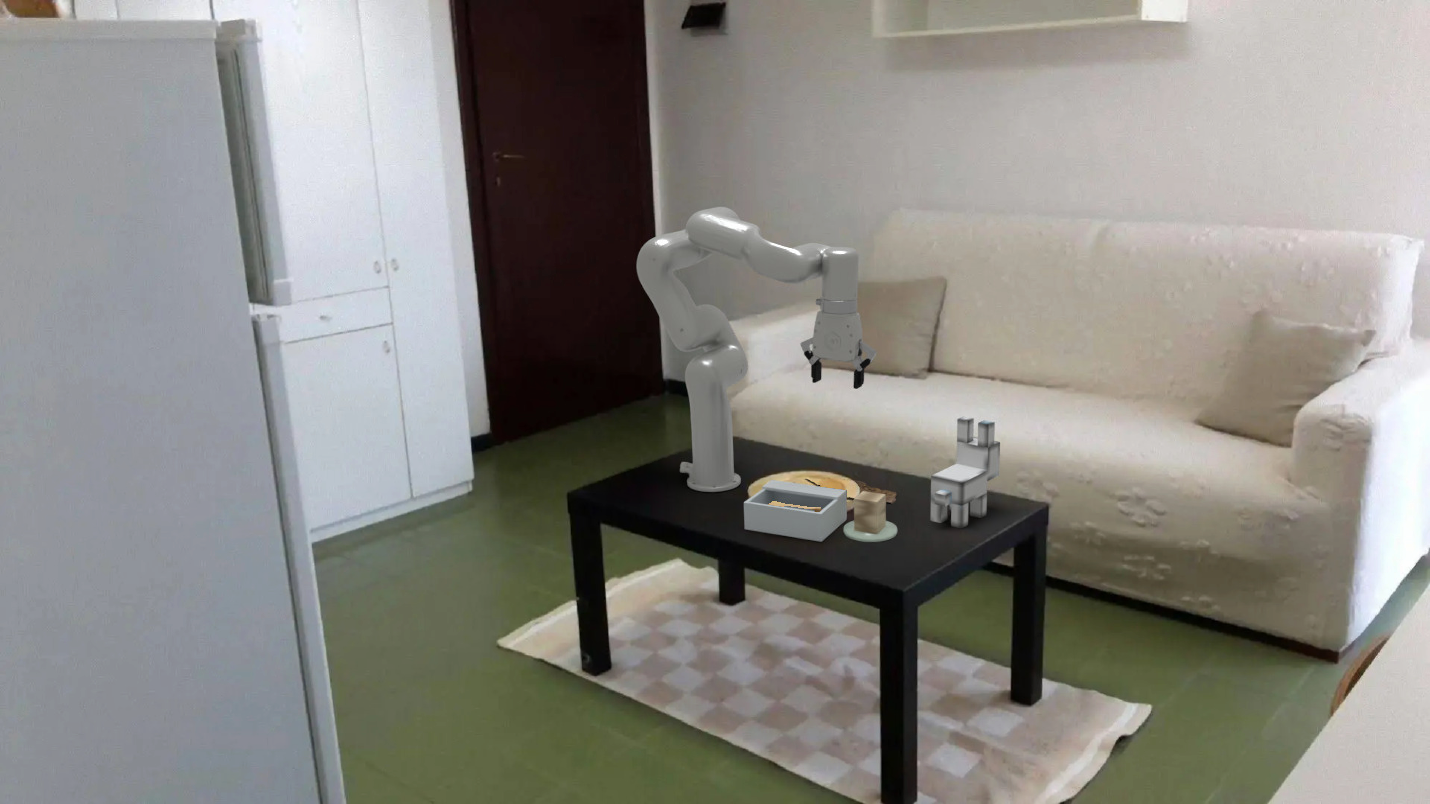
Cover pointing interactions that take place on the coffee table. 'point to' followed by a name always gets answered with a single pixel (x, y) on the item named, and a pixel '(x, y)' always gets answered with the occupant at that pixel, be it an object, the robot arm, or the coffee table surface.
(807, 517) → the box
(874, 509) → the maple block
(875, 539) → the sage saucer
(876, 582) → the coffee table surface
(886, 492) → the wooden fragment
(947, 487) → the toy llama
